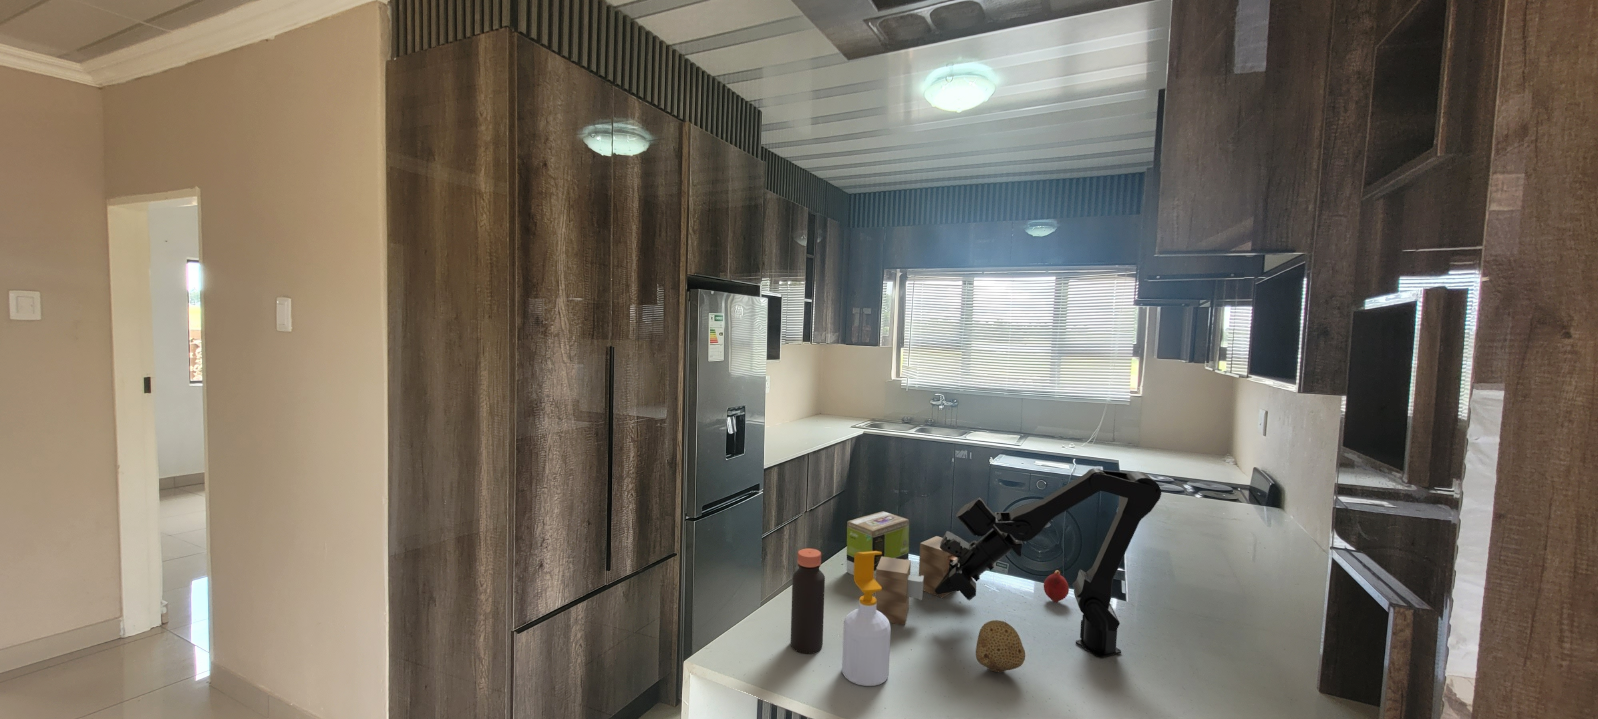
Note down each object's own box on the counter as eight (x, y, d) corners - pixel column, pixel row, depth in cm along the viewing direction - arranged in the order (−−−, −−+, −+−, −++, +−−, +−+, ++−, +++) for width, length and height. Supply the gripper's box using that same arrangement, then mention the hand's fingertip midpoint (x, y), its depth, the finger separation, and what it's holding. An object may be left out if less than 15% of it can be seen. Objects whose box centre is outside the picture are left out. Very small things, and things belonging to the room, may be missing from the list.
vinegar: (825, 640, 128) (828, 548, 127) (818, 656, 122) (821, 560, 121) (795, 634, 130) (798, 544, 129) (786, 650, 124) (789, 556, 123)
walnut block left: (908, 609, 144) (910, 560, 143) (905, 625, 136) (907, 573, 135) (879, 604, 146) (881, 556, 145) (874, 619, 138) (876, 569, 137)
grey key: (923, 593, 140) (923, 575, 140) (921, 600, 137) (922, 581, 137) (890, 588, 142) (891, 570, 142) (888, 595, 139) (889, 576, 139)
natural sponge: (1032, 673, 118) (1034, 624, 118) (1010, 691, 112) (1012, 640, 111) (989, 654, 125) (992, 607, 124) (967, 670, 119) (969, 621, 118)
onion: (1064, 609, 146) (1066, 577, 145) (1040, 602, 149) (1041, 571, 149) (1070, 601, 151) (1072, 570, 150) (1046, 594, 154) (1048, 564, 154)
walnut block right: (958, 588, 156) (960, 543, 155) (941, 597, 150) (944, 550, 150) (934, 579, 161) (936, 535, 160) (918, 588, 155) (920, 543, 155)
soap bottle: (851, 690, 111) (856, 560, 110) (835, 663, 120) (840, 542, 118) (896, 684, 113) (901, 557, 112) (877, 657, 122) (882, 539, 121)
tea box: (882, 559, 174) (884, 509, 173) (909, 571, 166) (911, 519, 165) (844, 572, 164) (846, 519, 163) (871, 585, 157) (873, 529, 156)
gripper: (963, 511, 144) (915, 550, 148) (961, 536, 126) (907, 580, 130) (996, 547, 142) (947, 585, 146) (999, 578, 124) (943, 621, 128)
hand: (935, 592), depth 138 cm, fingers closed
